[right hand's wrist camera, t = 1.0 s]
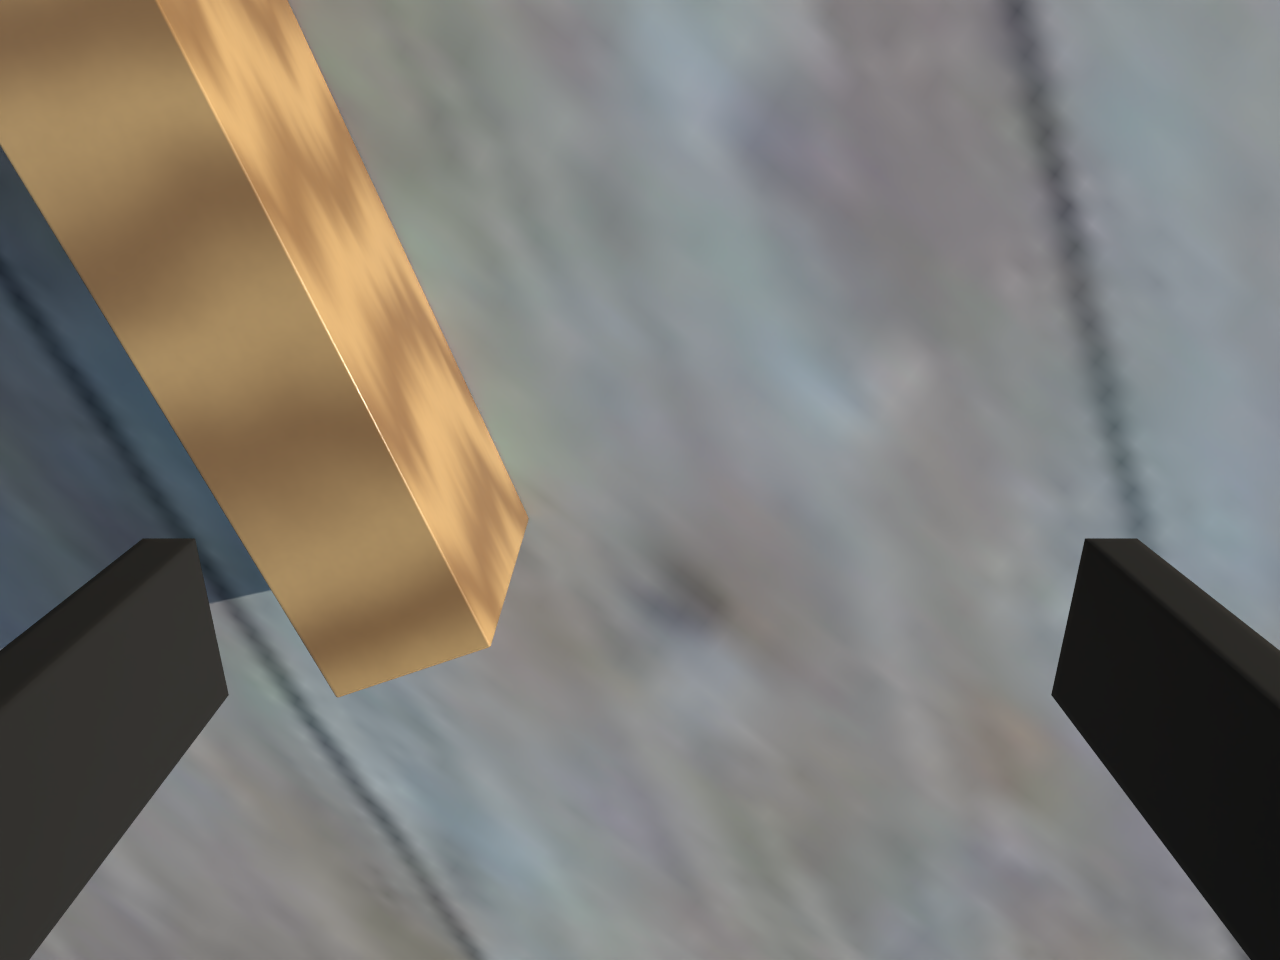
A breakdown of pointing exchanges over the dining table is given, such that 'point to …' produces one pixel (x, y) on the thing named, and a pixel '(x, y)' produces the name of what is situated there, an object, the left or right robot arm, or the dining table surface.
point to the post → (268, 315)
